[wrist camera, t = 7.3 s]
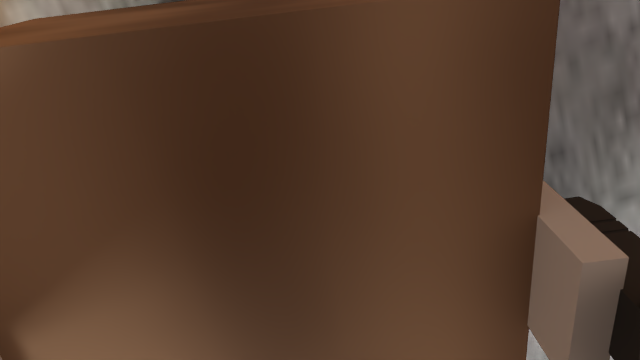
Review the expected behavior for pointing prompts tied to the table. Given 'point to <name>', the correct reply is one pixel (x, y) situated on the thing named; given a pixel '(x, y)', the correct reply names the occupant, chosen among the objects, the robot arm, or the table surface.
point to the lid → (273, 180)
